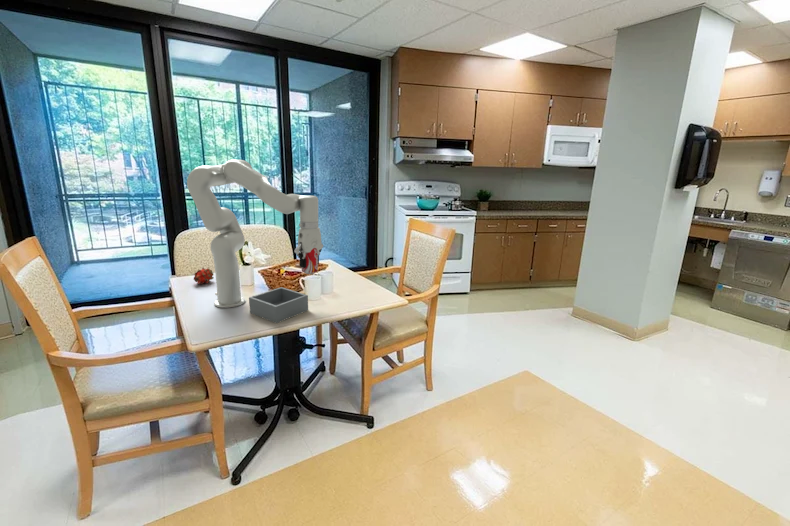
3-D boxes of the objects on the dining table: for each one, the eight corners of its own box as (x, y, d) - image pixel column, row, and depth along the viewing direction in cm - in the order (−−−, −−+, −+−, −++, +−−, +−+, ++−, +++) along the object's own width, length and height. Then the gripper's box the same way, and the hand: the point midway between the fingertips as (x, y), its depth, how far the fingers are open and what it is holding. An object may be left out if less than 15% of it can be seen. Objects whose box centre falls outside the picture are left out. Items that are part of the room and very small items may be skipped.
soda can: (314, 275, 156) (314, 248, 153) (298, 273, 157) (298, 246, 154) (320, 270, 163) (320, 244, 160) (305, 269, 164) (305, 243, 161)
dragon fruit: (214, 282, 196) (198, 292, 185) (201, 272, 195) (185, 282, 185) (220, 271, 192) (204, 281, 181) (207, 261, 192) (190, 270, 181)
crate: (250, 312, 154) (248, 297, 153) (282, 301, 168) (281, 287, 166) (276, 323, 145) (275, 306, 144) (308, 310, 159) (307, 295, 157)
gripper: (300, 228, 146) (300, 271, 150) (329, 224, 160) (329, 263, 164) (287, 226, 149) (288, 267, 154) (317, 222, 164) (317, 260, 168)
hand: (309, 265), depth 159 cm, fingers closed on soda can, 7 cm apart
